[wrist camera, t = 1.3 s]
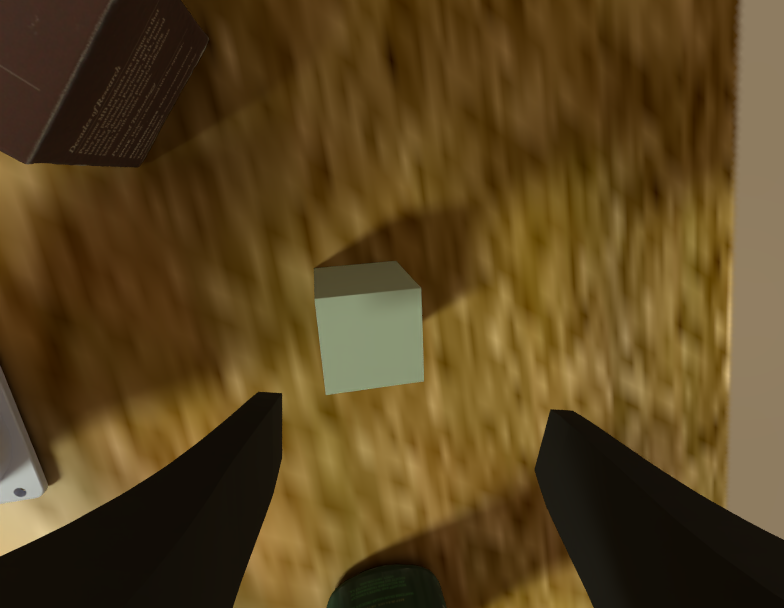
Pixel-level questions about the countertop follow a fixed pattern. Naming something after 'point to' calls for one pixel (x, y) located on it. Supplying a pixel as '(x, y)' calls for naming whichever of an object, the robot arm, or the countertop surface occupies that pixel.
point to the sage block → (368, 326)
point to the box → (91, 77)
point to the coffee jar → (390, 589)
